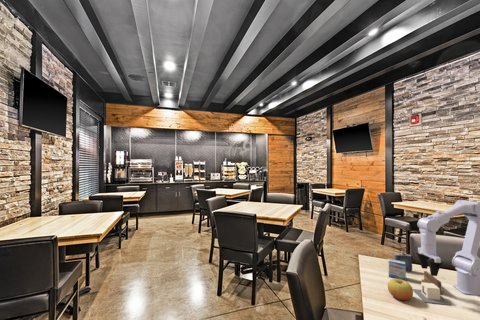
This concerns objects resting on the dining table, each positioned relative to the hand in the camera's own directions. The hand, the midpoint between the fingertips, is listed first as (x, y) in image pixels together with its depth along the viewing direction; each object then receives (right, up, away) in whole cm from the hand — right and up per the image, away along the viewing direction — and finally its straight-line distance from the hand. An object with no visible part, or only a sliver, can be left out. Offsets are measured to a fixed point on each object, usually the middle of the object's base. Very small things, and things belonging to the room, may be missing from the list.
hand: (429, 271), depth 111 cm
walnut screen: (+6, -10, +5) cm, 13 cm away
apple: (-16, -11, -3) cm, 20 cm away
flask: (+5, -11, +25) cm, 28 cm away
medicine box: (-5, -11, +16) cm, 20 cm away
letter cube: (-2, -10, -3) cm, 11 cm away
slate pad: (-2, -10, -3) cm, 11 cm away
